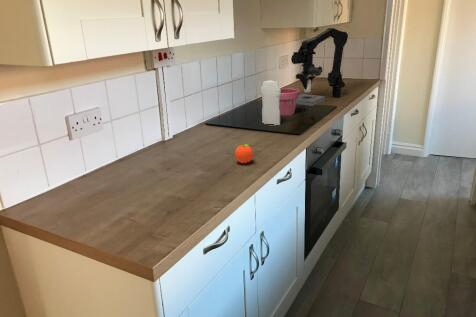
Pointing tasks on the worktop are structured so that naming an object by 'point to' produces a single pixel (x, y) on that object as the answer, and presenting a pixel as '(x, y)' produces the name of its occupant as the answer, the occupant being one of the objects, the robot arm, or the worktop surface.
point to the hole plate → (310, 99)
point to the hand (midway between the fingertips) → (307, 88)
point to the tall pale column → (270, 102)
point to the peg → (308, 86)
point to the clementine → (244, 153)
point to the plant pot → (288, 101)
